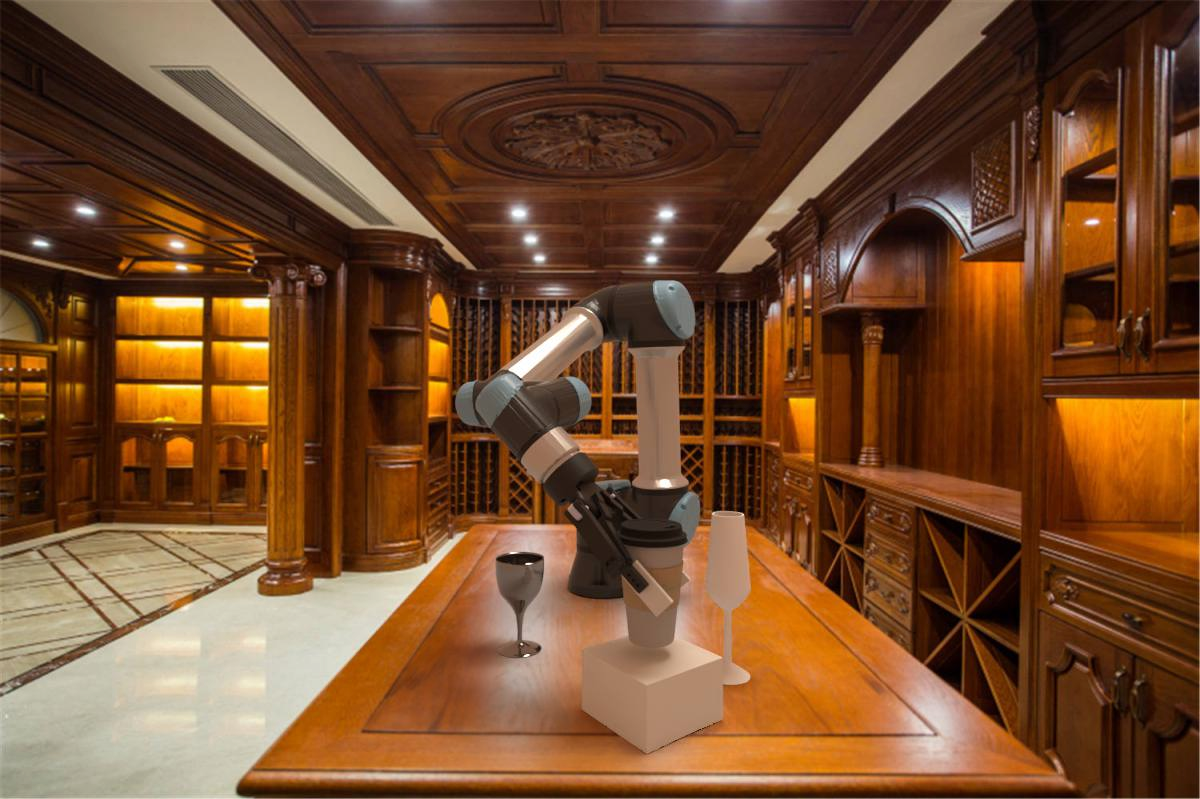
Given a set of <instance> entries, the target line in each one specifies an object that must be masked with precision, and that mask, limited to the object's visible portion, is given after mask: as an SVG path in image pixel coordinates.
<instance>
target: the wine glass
mask: <svg viewBox="0 0 1200 799" xmlns="http://www.w3.org/2000/svg"><path fill="white" fill-rule="evenodd" d="M494 561H495V568H494V569H495V578H496V584H497V589H498V591H499V594H500V595H501V597H502V598H503V599H504V600H505V601H506V603H507V604H508V605H509V606H510V607H511V609H512V610H513V612H514V615H515V620H516V627H517V629H516V631H517V632H516V633H517V636H516V637H517V639H516V640H512V641H507V642H504V643H502V644H501V645H500V646H499V647H498V649H497V652H498V654H499V655H501V656H503V657H506V658H512V659H516V658H517V659H520V658H521V659H522V658H528V657H532V656H535V655H537V654H539V653H540V652H541V650H542V648H543V647H542V646H541V644H540V643H539V642H536V641H532V640H527V639H523V626H524V618H525V613H526V611H527V609H528V607H529V606H530V605H531V604H532V602H533V601H534V600H535V599H536V597H537V596H538V595H539V593H540V591H541V589H542V586H543V581H544V575H545V574H544V572H545V556H544V555H543V554H541V553H537V552H533V551H532V552H531V551H515V552H513V551H512V552H506V553H501V554H500V555H498V556H496V557H495V560H494Z"/></svg>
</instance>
